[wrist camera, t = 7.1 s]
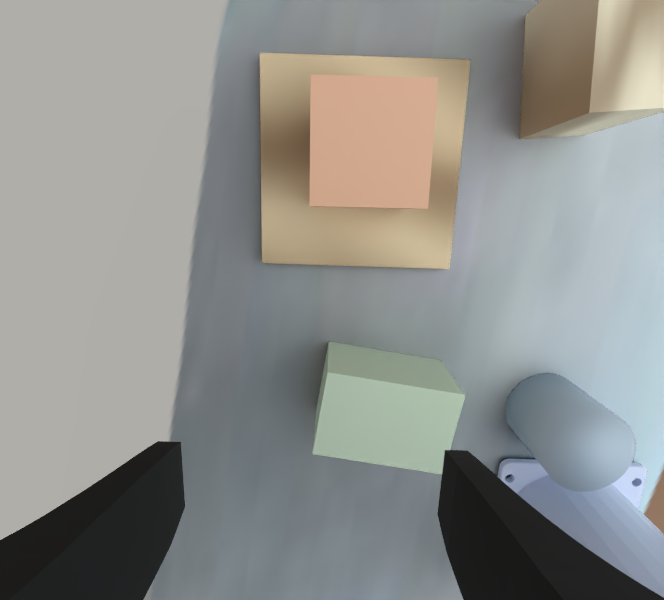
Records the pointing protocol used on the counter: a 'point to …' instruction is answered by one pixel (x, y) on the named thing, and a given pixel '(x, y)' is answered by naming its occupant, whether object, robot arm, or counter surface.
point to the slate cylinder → (570, 432)
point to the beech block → (591, 65)
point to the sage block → (386, 408)
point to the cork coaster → (353, 223)
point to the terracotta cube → (371, 141)
